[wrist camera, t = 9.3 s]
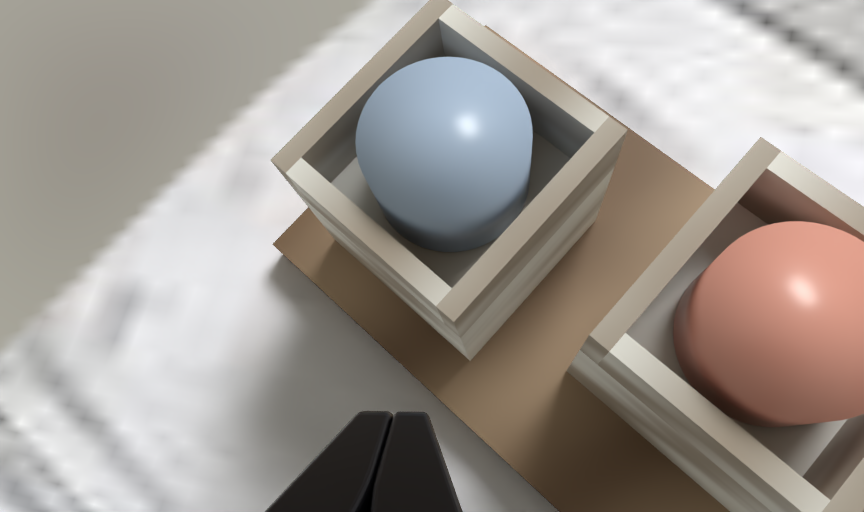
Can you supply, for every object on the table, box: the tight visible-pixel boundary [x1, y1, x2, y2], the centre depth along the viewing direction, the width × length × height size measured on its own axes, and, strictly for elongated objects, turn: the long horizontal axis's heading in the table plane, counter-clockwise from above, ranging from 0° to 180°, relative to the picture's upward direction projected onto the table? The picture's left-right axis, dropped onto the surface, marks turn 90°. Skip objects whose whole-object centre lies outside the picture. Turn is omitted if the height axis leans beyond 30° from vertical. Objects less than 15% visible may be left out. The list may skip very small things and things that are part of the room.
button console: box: [271, 0, 864, 512], centre depth 17 cm, size 24×10×7 cm, turn 47°
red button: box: [673, 221, 864, 427], centre depth 14 cm, size 4×4×2 cm
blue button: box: [355, 57, 533, 252], centre depth 16 cm, size 4×4×2 cm
